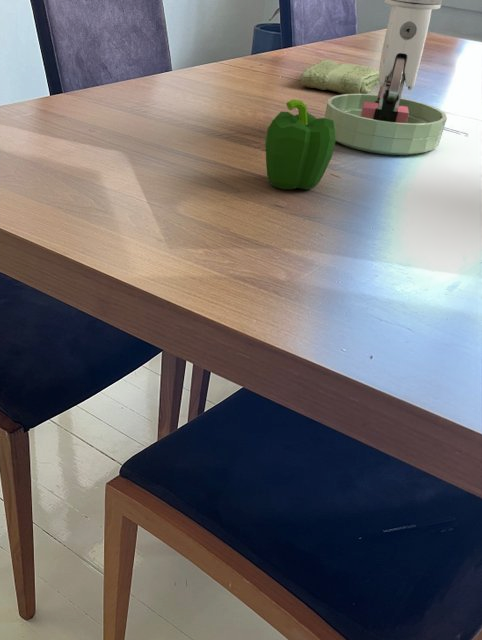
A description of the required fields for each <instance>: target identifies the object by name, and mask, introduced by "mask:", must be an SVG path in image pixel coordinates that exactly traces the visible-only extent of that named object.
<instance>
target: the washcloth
mask: <svg viewBox="0 0 482 640" xmlns="http://www.w3.org/2000/svg"><path fill="white" fill-rule="evenodd" d="M378 83H379V69H376V68H373V67H369V66H364V65H361V64H359V65H358V64H353V63H338V62H336V61H334V60H331V59H326V60H320V61H319V62H317V63H315V64H314V65H312V66H309V67H307V68H306V69H304V71H303V72H302V74H301V76H300V85H301V86H303V87H305V88H310V89H316V90H321V91H331V92H335V93H338V94H340V95H343V94H369V92H370V91H372V89H373V88H374V86H376V84H378Z"/></svg>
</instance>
